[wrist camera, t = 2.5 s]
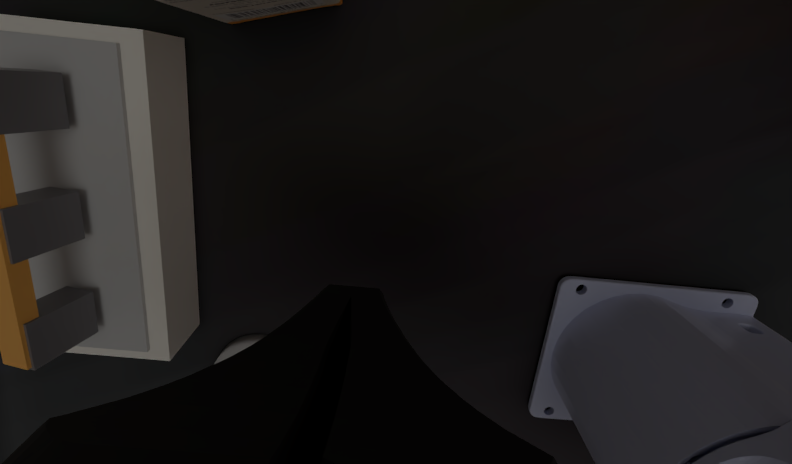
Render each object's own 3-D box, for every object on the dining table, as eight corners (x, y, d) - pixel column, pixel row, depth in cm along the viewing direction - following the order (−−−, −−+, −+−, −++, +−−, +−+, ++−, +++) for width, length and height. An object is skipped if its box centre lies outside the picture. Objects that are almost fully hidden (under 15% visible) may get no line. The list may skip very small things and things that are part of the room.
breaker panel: (184, 38, 17) (139, 28, 14) (199, 323, 21) (167, 363, 18) (29, 21, 17) (-50, 8, 14) (75, 313, 21) (22, 351, 18)
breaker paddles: (61, 72, 14) (-33, 68, 12) (98, 331, 17) (30, 372, 15) (30, 68, 14) (-69, 64, 12) (73, 325, 18) (1, 365, 15)
